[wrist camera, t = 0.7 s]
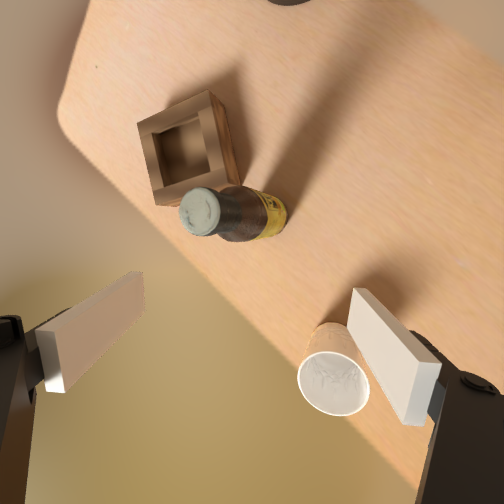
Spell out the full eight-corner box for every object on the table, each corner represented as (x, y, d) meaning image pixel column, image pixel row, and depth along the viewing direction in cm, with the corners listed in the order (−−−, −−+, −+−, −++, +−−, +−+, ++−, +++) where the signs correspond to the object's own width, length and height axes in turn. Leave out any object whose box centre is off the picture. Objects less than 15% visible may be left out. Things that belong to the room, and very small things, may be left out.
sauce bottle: (295, 203, 37) (249, 187, 18) (280, 242, 38) (225, 264, 20) (256, 190, 38) (179, 163, 20) (244, 228, 40) (161, 235, 21)
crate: (158, 133, 43) (136, 123, 38) (223, 105, 38) (207, 89, 34) (175, 206, 44) (155, 205, 39) (241, 187, 39) (227, 182, 34)
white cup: (311, 312, 38) (302, 343, 29) (366, 325, 35) (376, 363, 26) (304, 358, 39) (293, 402, 30) (356, 373, 37) (362, 426, 27)
